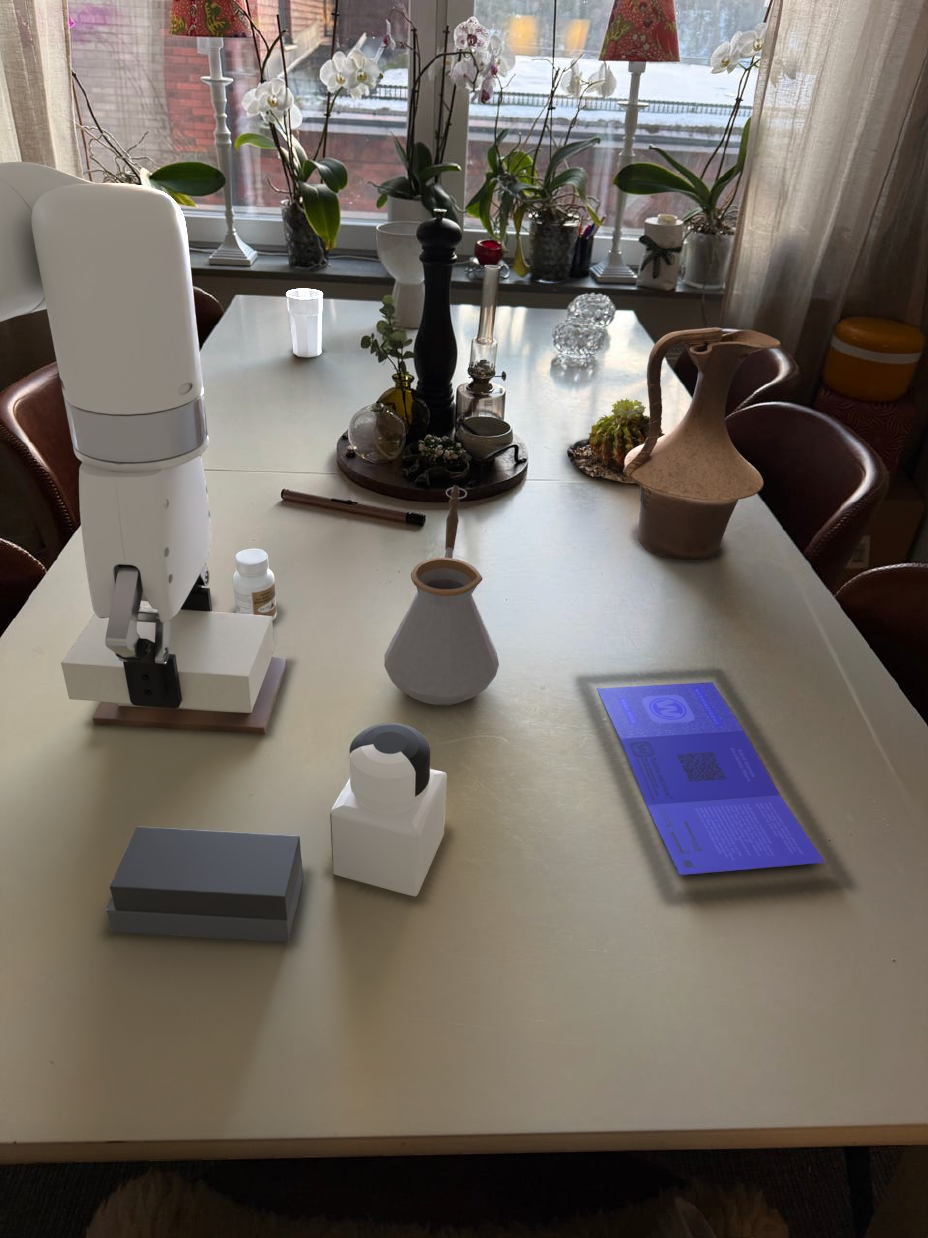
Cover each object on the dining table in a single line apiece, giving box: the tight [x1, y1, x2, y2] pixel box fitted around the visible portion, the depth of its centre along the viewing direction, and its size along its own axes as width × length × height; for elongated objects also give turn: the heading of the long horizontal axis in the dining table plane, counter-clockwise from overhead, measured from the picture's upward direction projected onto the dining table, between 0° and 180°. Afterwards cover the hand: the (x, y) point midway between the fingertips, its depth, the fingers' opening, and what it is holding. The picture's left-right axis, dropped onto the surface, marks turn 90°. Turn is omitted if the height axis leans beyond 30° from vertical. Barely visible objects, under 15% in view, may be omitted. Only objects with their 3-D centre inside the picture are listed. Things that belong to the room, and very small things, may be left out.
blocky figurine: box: [329, 722, 448, 897], centre depth 73 cm, size 7×7×12 cm
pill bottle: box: [232, 548, 278, 622], centre depth 101 cm, size 4×4×8 cm
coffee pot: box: [383, 484, 500, 706], centre depth 95 cm, size 21×12×15 cm, turn 177°
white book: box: [60, 606, 275, 713], centre depth 63 cm, size 12×7×3 cm, turn 87°
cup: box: [285, 288, 324, 358], centre depth 175 cm, size 7×7×11 cm
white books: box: [92, 656, 288, 735], centre depth 90 cm, size 16×11×6 cm
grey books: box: [106, 826, 304, 943], centre depth 70 cm, size 13×6×5 cm, turn 88°
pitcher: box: [623, 327, 781, 562], centre depth 115 cm, size 18×17×28 cm
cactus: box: [566, 397, 666, 484], centre depth 140 cm, size 17×16×10 cm
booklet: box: [596, 681, 826, 876], centre depth 86 cm, size 12×25×1 cm, turn 8°
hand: (175, 666), depth 64 cm, fingers closed on white book, 7 cm apart
